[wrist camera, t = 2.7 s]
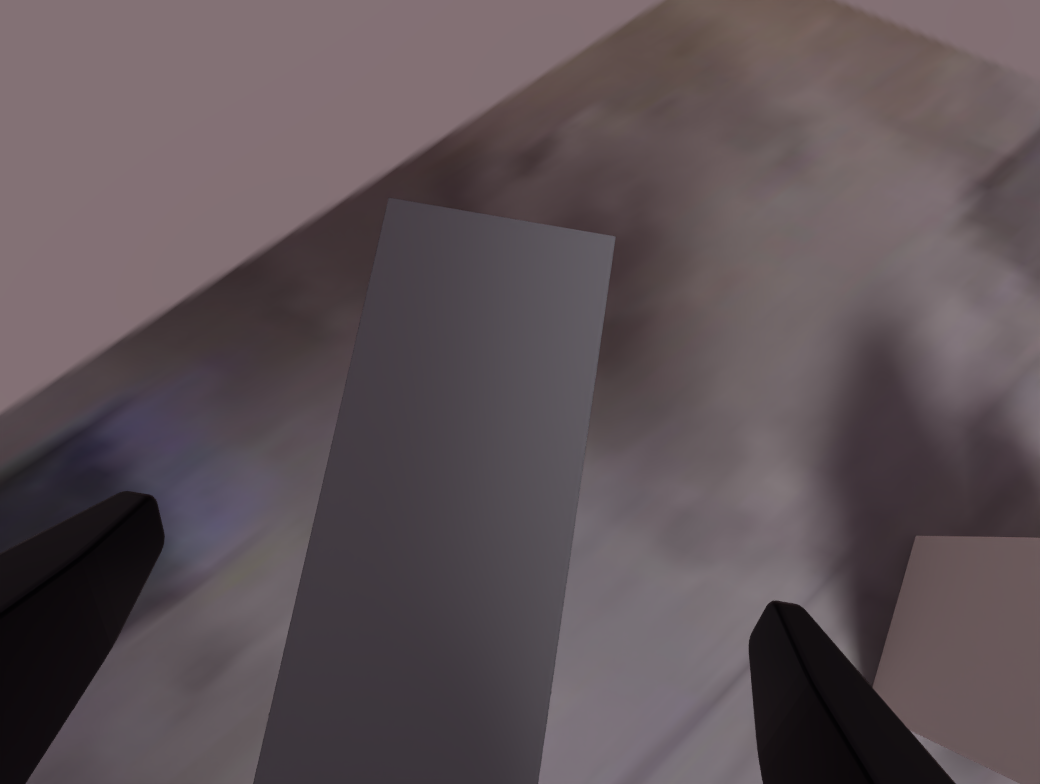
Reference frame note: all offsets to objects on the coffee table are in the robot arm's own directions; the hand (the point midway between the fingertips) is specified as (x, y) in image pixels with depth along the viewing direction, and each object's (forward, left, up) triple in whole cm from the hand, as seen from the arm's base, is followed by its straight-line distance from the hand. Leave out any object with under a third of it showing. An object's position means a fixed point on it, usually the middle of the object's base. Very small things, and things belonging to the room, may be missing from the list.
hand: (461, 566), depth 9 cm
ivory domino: (-6, -11, -8) cm, 15 cm away
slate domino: (+1, 0, -8) cm, 9 cm away
